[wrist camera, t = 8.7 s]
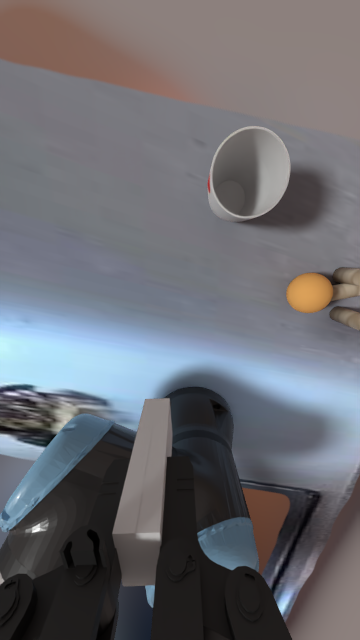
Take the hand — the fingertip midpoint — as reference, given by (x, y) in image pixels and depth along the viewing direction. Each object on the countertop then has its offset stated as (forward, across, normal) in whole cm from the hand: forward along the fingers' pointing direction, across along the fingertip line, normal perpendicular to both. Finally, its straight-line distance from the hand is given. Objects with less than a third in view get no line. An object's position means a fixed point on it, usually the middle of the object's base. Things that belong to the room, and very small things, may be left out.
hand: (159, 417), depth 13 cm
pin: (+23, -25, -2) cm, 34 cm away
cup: (+24, -9, -17) cm, 31 cm away
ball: (+21, -21, -3) cm, 30 cm away
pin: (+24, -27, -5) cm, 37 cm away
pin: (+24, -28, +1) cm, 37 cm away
